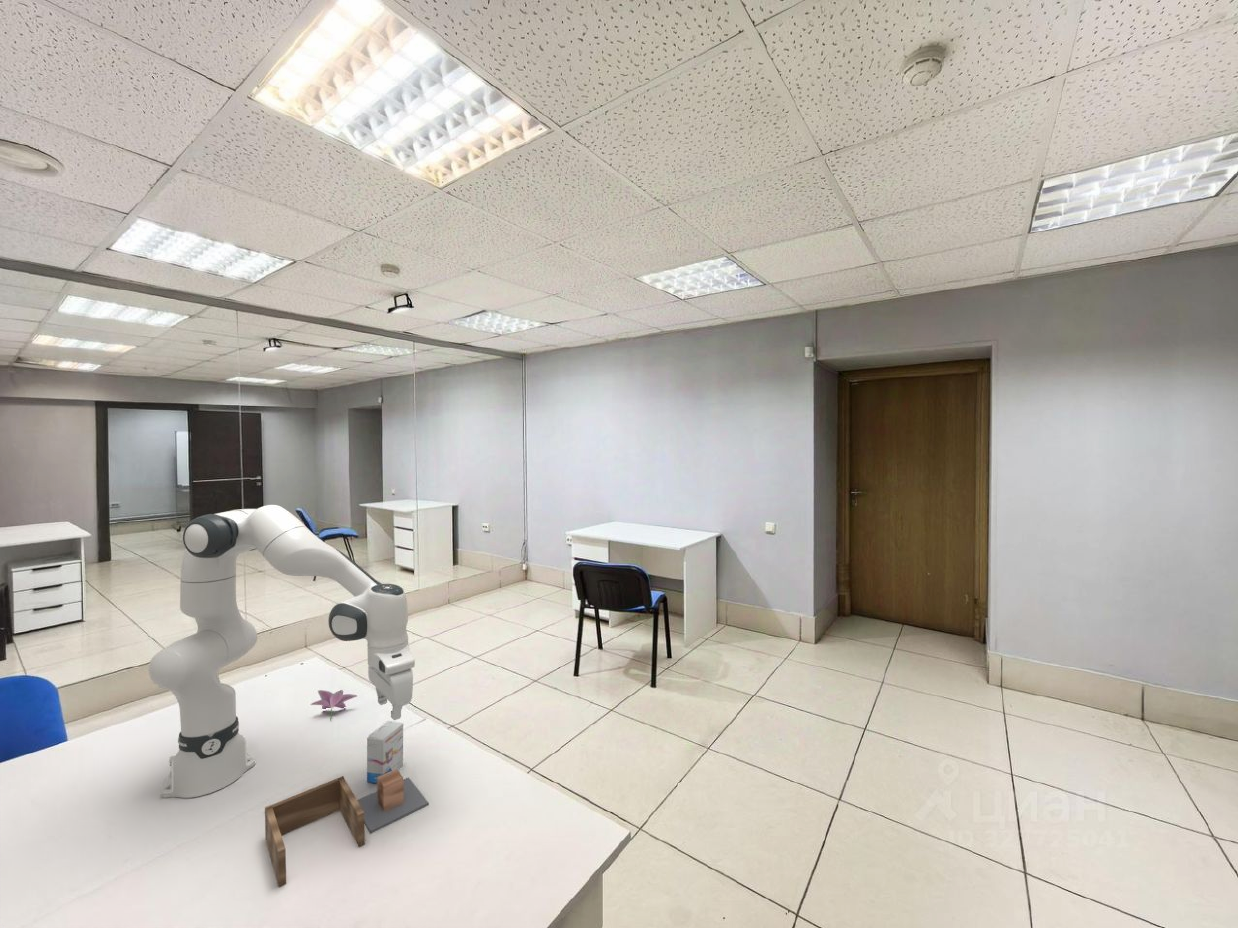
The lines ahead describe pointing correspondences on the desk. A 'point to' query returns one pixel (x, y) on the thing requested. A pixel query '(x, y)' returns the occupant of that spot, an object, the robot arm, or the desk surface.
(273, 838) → the walnut cubby
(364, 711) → the desk surface
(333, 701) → the lily
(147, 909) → the desk surface
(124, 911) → the desk surface
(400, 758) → the ink box
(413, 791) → the slate mat
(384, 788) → the terracotta block
